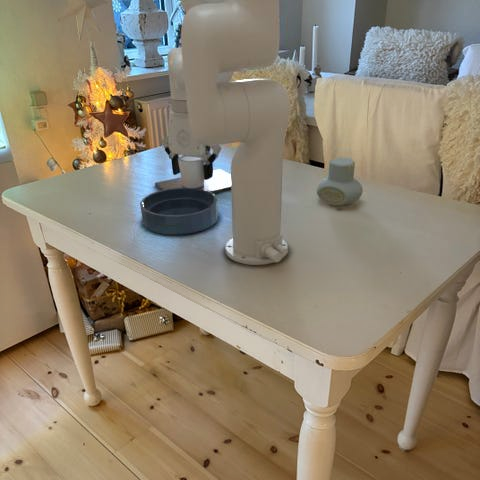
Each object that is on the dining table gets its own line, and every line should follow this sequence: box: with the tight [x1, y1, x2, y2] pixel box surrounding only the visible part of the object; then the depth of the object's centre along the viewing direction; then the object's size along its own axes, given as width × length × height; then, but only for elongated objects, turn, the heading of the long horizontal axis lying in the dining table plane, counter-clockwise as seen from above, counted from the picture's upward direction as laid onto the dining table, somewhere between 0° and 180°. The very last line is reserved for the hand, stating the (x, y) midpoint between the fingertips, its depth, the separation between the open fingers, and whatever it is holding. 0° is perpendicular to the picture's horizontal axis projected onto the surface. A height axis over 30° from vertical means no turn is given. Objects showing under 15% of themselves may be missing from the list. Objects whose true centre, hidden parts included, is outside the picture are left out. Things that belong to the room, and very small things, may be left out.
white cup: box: [178, 155, 205, 188], centre depth 128 cm, size 7×7×7 cm
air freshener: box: [316, 157, 364, 208], centre depth 117 cm, size 11×8×10 cm
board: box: [154, 168, 231, 195], centre depth 131 cm, size 14×20×1 cm
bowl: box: [139, 188, 219, 235], centre depth 112 cm, size 17×17×4 cm
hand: (192, 175), depth 128 cm, fingers open, 9 cm apart
